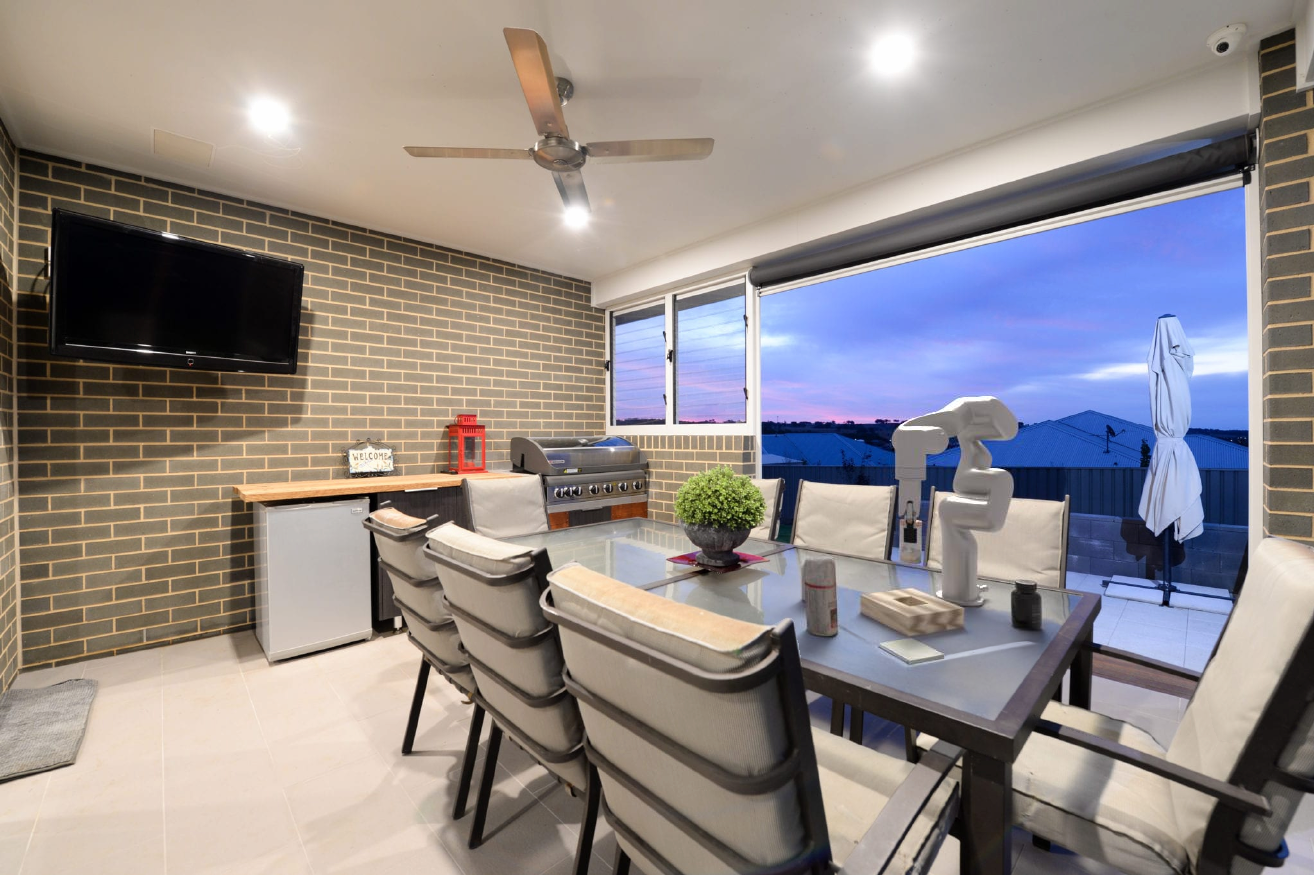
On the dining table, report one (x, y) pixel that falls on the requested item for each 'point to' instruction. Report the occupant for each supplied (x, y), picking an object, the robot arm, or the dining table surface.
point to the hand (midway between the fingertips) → (910, 539)
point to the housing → (912, 611)
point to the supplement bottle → (1026, 606)
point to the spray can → (821, 596)
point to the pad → (912, 651)
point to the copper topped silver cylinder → (910, 545)
